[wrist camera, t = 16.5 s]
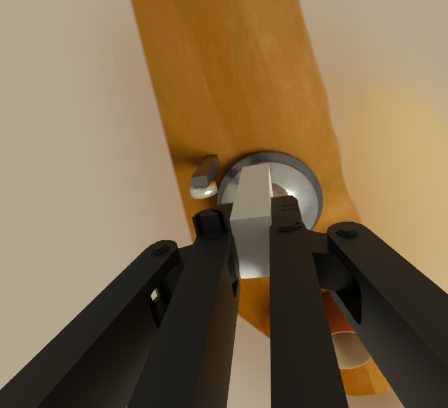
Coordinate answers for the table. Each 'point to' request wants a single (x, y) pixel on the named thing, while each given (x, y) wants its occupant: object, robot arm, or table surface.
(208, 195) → the dial stand
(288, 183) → the turntable
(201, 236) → the robot arm
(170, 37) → the table surface
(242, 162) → the turntable base
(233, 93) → the table surface
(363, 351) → the mug
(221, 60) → the table surface
